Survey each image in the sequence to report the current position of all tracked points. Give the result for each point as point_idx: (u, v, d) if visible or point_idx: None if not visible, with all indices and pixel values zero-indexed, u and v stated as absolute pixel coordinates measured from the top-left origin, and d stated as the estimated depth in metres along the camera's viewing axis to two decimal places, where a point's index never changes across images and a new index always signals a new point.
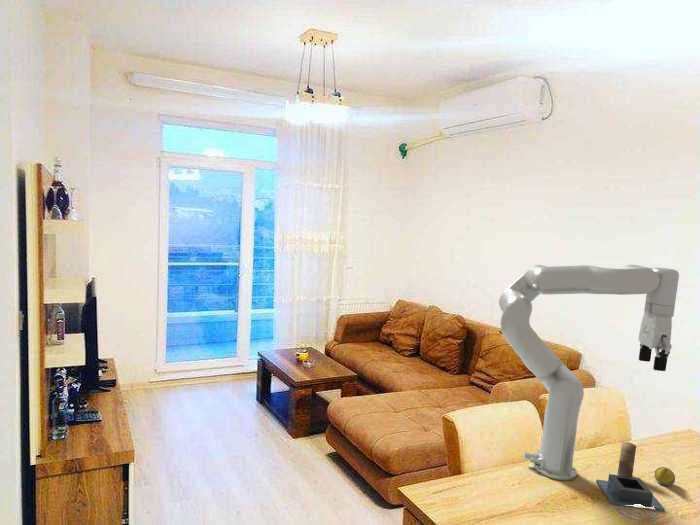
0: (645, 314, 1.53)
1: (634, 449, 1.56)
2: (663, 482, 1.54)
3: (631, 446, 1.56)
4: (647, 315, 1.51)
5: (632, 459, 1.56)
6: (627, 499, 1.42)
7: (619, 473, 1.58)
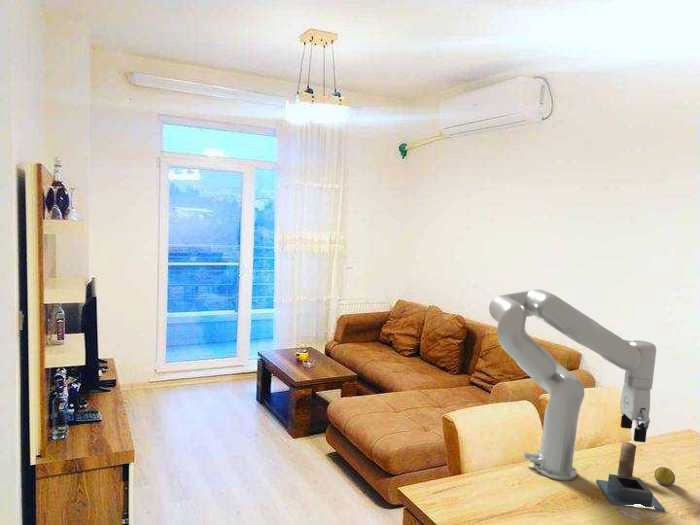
0: (625, 384, 1.58)
1: (634, 449, 1.56)
2: (663, 482, 1.54)
3: (631, 446, 1.56)
4: (627, 386, 1.57)
5: (632, 459, 1.56)
6: (627, 499, 1.42)
7: (619, 473, 1.58)
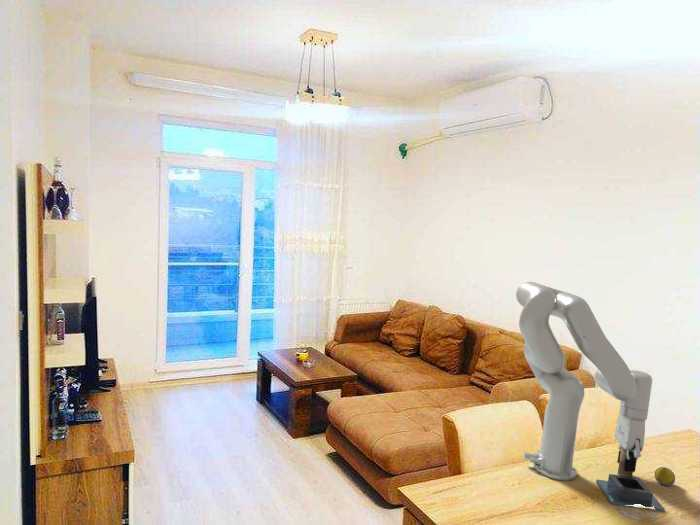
0: (620, 414, 1.59)
1: None
2: (663, 482, 1.54)
3: None
4: (622, 416, 1.58)
5: None
6: (627, 499, 1.42)
7: (619, 473, 1.58)
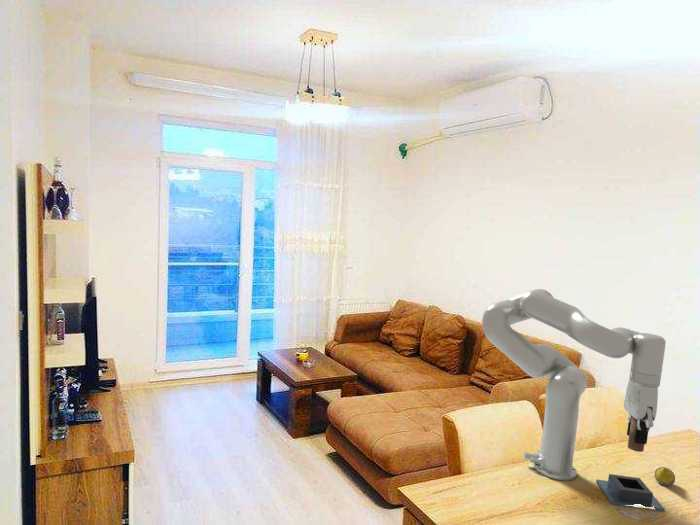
0: (630, 381, 1.46)
1: None
2: (663, 482, 1.54)
3: None
4: (632, 383, 1.44)
5: None
6: (627, 499, 1.42)
7: (629, 446, 1.45)
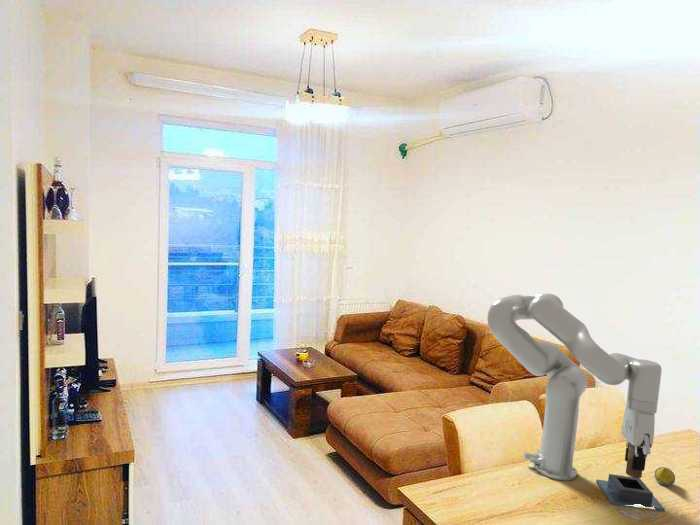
0: (627, 407, 1.46)
1: None
2: (663, 482, 1.54)
3: None
4: (629, 409, 1.45)
5: None
6: (627, 499, 1.42)
7: (627, 472, 1.45)
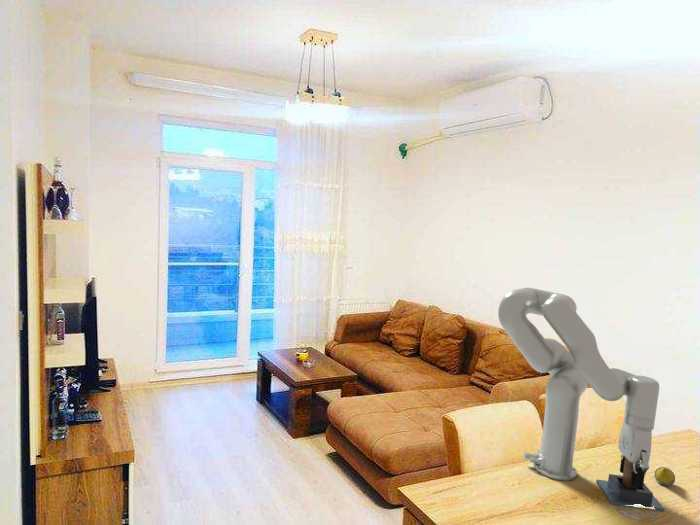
0: (625, 423, 1.47)
1: (638, 464, 1.44)
2: (663, 482, 1.54)
3: None
4: (627, 425, 1.45)
5: None
6: (627, 499, 1.42)
7: None
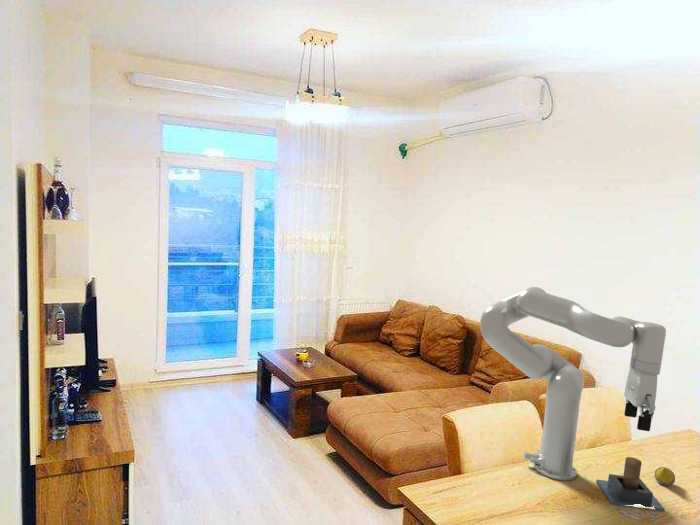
0: (631, 369, 1.48)
1: (639, 465, 1.44)
2: (663, 482, 1.54)
3: (635, 462, 1.44)
4: (633, 371, 1.46)
5: (637, 476, 1.44)
6: (627, 499, 1.42)
7: None
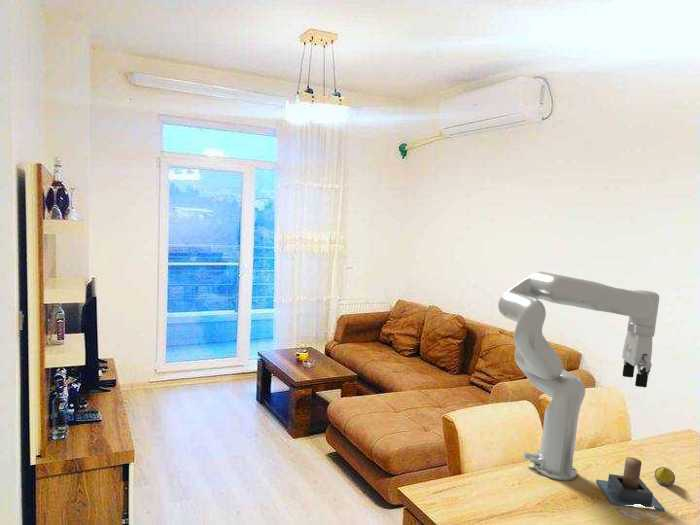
0: (628, 333, 1.64)
1: (639, 465, 1.44)
2: (663, 482, 1.54)
3: (635, 462, 1.44)
4: (630, 334, 1.62)
5: (637, 476, 1.44)
6: (627, 499, 1.42)
7: None
